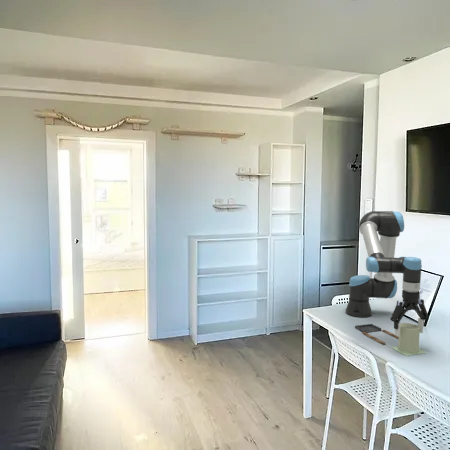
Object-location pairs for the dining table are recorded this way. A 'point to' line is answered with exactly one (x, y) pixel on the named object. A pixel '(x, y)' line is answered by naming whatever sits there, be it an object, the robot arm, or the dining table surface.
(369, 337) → the lane
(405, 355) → the mat
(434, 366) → the dining table surface
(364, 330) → the tray
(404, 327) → the can
